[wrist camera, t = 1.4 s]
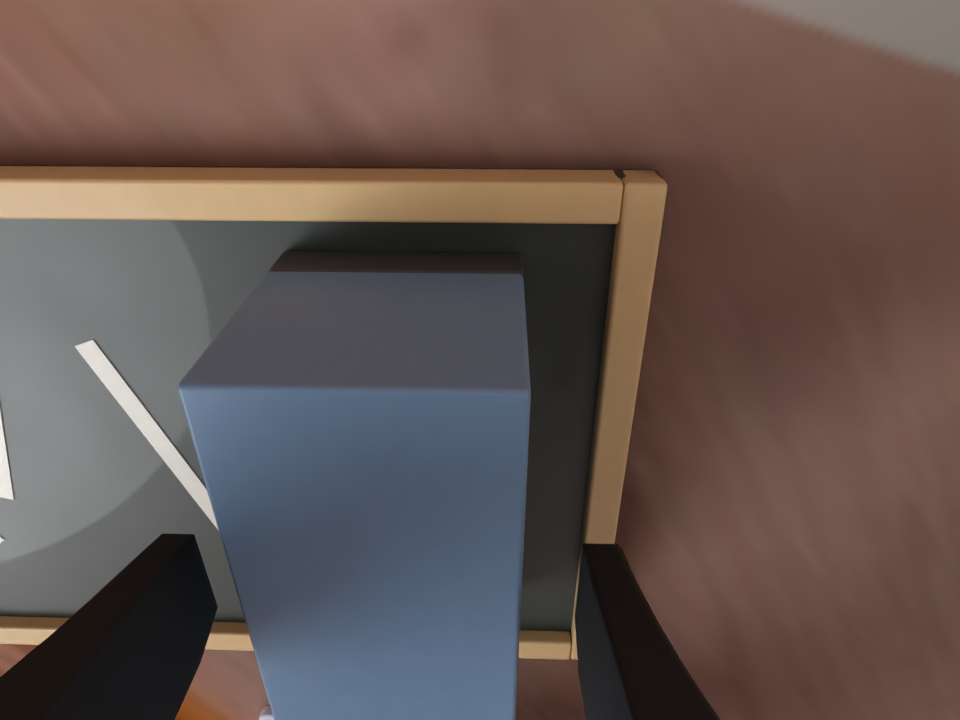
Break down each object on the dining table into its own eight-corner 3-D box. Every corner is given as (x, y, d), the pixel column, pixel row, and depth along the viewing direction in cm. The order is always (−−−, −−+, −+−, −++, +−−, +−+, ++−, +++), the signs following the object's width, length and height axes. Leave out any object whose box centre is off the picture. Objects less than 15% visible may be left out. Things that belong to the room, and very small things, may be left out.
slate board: (593, 631, 20) (597, 661, 19) (-229, 610, 20) (-261, 637, 19) (658, 169, 12) (669, 183, 12) (-617, 160, 13) (-695, 174, 12)
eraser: (510, 590, 18) (513, 784, 14) (339, 586, 18) (289, 776, 14) (522, 252, 13) (531, 391, 8) (283, 249, 13) (173, 385, 9)
